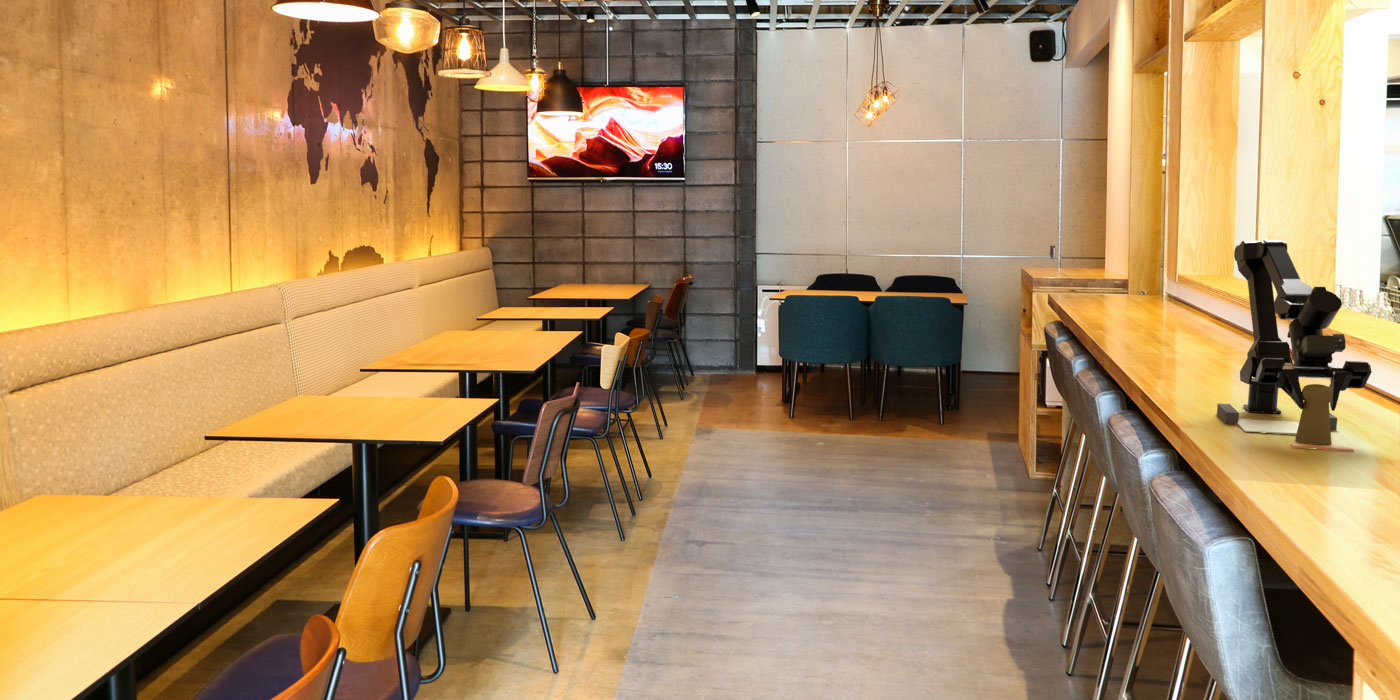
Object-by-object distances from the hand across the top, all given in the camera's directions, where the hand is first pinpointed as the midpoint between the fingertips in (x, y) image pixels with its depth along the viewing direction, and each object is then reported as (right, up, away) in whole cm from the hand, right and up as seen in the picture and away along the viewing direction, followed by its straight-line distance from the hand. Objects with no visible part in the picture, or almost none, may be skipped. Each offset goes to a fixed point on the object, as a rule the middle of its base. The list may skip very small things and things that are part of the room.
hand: (1318, 408), depth 196 cm
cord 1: (-6, -3, +23) cm, 24 cm away
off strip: (-1, -7, -3) cm, 8 cm away
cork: (0, -6, +2) cm, 7 cm away
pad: (-1, -5, +14) cm, 15 cm away
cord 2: (+12, -4, +17) cm, 21 cm away
